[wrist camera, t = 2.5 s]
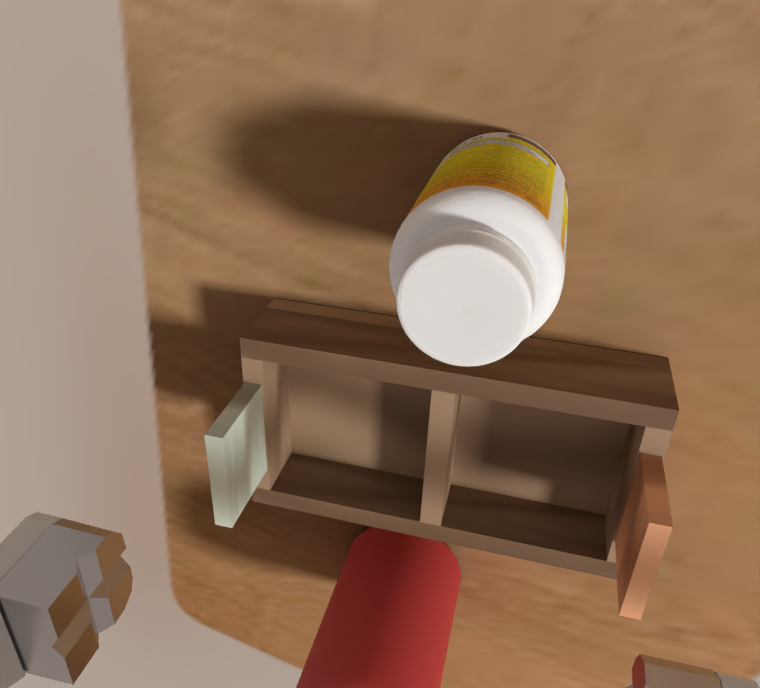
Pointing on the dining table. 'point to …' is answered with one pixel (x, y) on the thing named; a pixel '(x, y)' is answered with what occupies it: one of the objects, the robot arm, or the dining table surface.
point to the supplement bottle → (482, 250)
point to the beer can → (387, 615)
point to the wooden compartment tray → (453, 442)
